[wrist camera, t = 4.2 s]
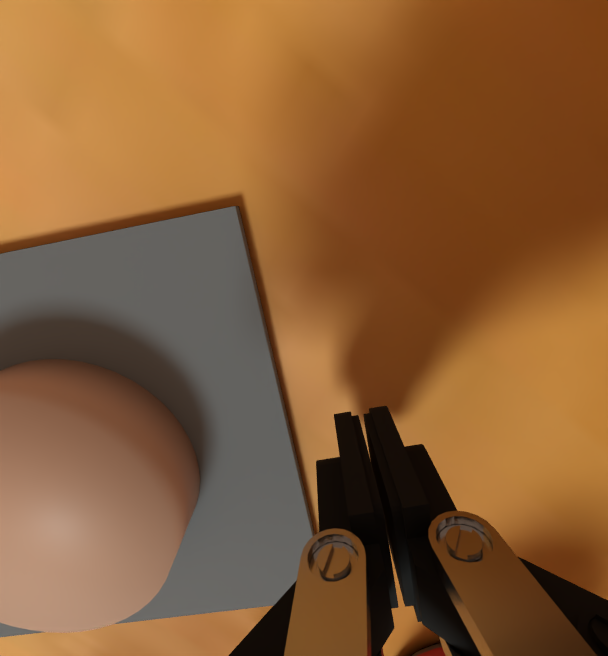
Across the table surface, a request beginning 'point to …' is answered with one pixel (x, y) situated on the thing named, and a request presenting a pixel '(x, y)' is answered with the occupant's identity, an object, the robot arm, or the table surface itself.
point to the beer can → (431, 651)
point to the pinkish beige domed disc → (87, 495)
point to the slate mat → (180, 387)
